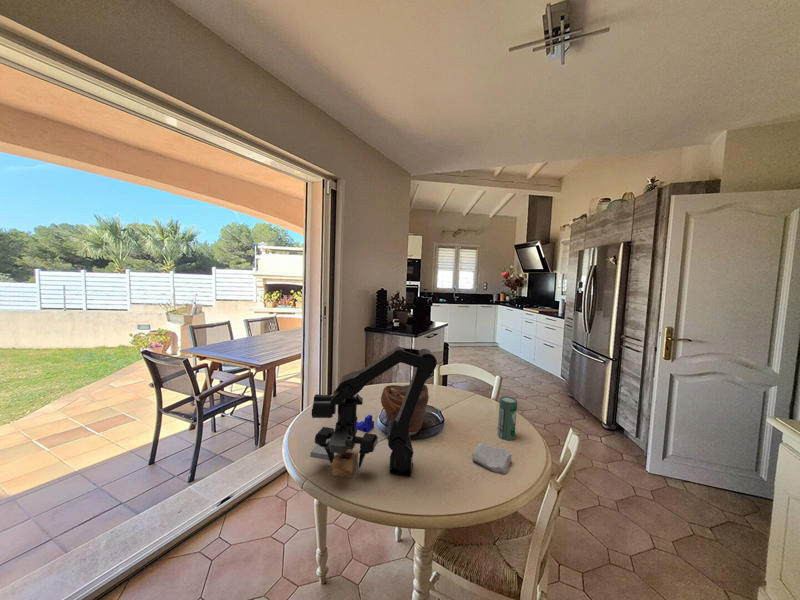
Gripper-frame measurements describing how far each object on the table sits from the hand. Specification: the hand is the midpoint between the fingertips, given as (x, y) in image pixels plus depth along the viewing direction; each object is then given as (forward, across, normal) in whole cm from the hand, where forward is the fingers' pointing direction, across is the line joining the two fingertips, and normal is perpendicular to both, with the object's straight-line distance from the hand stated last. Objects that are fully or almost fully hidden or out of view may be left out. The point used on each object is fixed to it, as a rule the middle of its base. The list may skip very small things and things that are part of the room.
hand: (345, 464), depth 94 cm
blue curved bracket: (+2, -5, +27) cm, 28 cm away
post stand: (+2, -8, +10) cm, 13 cm away
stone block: (+2, +45, +16) cm, 48 cm away
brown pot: (+2, +13, +30) cm, 33 cm away
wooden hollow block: (+2, 0, 0) cm, 2 cm away
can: (+2, +53, +35) cm, 63 cm away
